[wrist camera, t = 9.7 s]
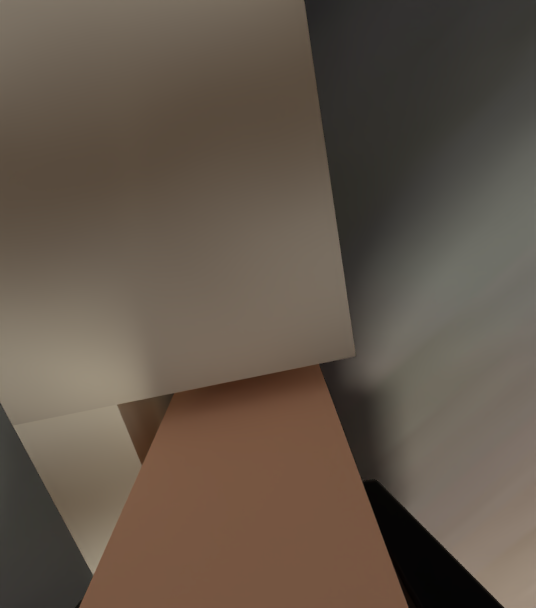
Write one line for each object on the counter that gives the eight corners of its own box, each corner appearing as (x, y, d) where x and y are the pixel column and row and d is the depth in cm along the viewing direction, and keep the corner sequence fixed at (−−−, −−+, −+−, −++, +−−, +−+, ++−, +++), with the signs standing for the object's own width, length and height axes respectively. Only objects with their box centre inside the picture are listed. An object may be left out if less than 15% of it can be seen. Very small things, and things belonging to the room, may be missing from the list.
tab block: (337, 471, 10) (567, 1258, 3) (213, 495, 10) (88, 1303, 3) (316, 358, 9) (625, 1195, 1) (176, 386, 9) (-220, 1283, 2)
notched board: (369, 558, 13) (399, 656, 10) (179, 591, 14) (157, 695, 11) (265, -68, 7) (269, -238, 4) (-69, 18, 8) (-264, -90, 5)
